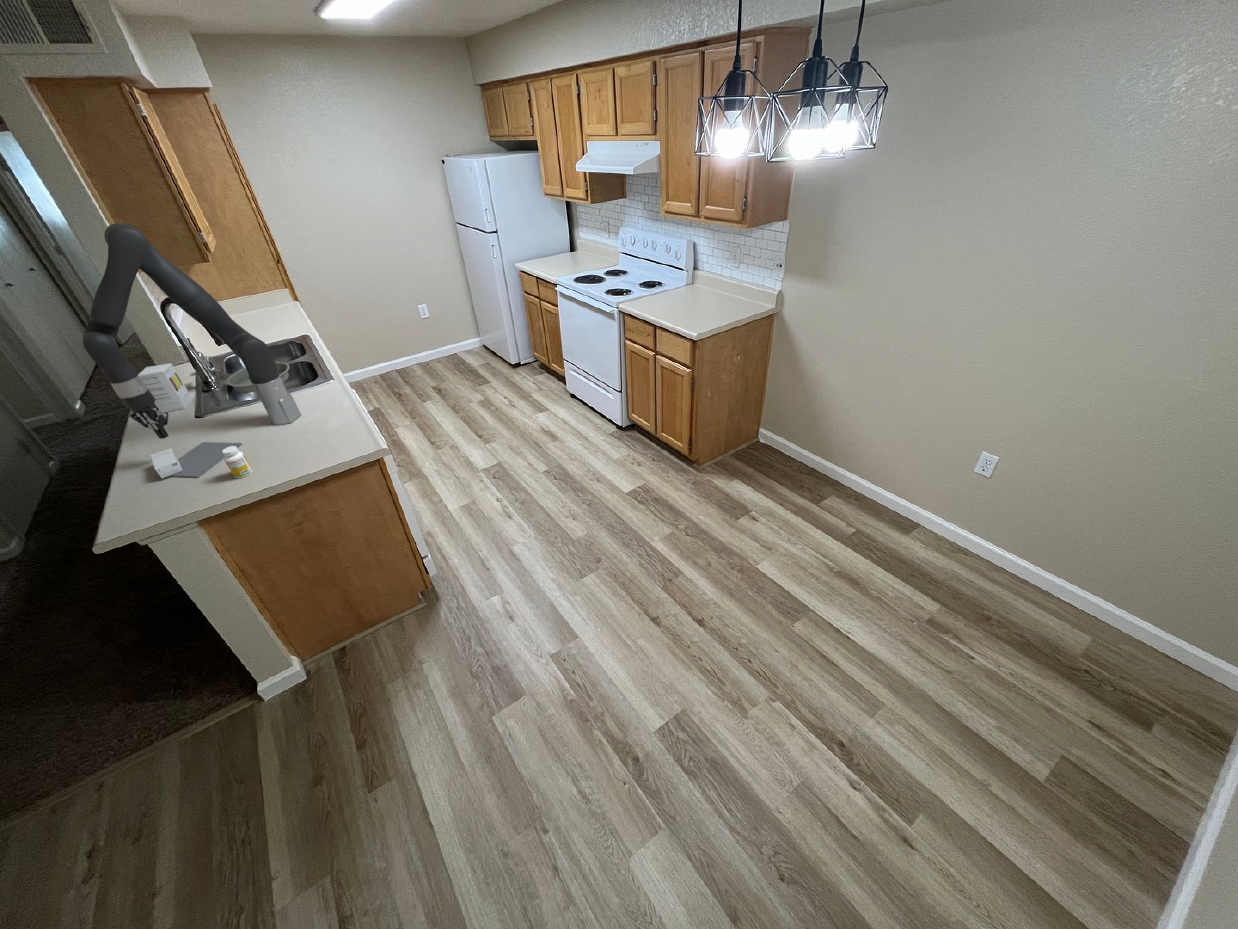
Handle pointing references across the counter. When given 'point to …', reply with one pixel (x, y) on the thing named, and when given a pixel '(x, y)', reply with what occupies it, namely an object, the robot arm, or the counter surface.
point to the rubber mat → (201, 459)
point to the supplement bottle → (237, 462)
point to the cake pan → (243, 382)
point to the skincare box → (166, 463)
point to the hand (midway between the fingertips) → (164, 437)
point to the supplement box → (166, 387)
